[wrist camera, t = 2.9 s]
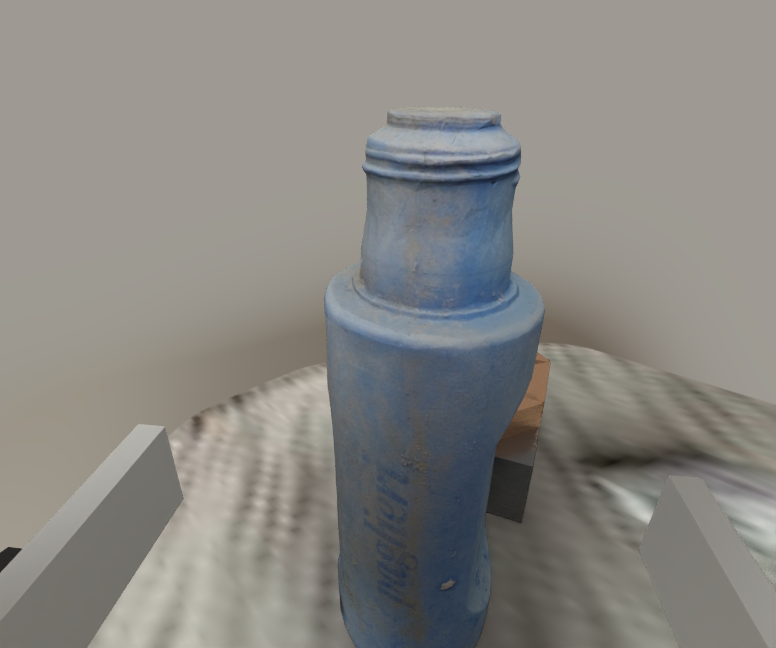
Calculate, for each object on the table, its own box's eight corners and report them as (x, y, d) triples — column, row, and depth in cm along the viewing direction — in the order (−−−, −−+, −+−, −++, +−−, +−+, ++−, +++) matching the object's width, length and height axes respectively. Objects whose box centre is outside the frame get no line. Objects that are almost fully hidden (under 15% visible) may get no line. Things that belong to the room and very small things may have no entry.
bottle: (373, 521, 36) (369, 101, 22) (498, 563, 33) (583, 106, 19) (313, 641, 28) (250, 109, 15) (470, 712, 25) (579, 118, 11)
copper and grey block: (540, 407, 49) (554, 338, 46) (521, 522, 36) (538, 440, 32) (401, 375, 55) (403, 311, 51) (340, 466, 41) (336, 390, 38)
